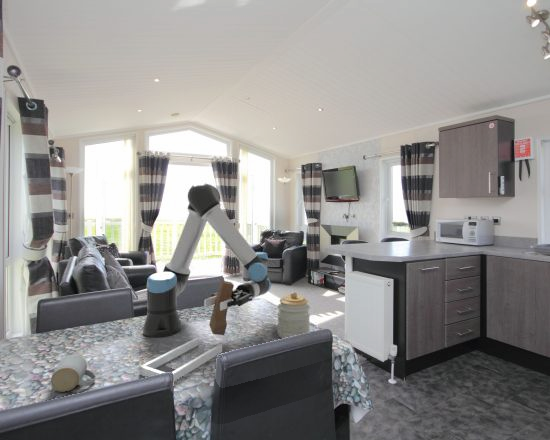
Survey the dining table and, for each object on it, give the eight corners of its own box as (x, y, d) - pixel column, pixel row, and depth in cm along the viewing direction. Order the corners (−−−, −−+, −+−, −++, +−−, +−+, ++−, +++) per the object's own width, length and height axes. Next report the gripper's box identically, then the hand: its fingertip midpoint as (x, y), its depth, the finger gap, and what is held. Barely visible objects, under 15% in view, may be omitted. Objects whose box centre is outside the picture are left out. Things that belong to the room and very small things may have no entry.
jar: (300, 344, 123) (300, 298, 122) (271, 337, 130) (271, 293, 129) (315, 333, 134) (315, 290, 133) (287, 327, 141) (287, 286, 140)
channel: (139, 374, 101) (139, 366, 101) (195, 344, 123) (195, 338, 123) (168, 385, 95) (168, 376, 95) (222, 351, 117) (222, 344, 117)
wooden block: (224, 335, 120) (236, 288, 121) (212, 334, 119) (225, 286, 119) (220, 326, 129) (231, 282, 129) (208, 324, 127) (220, 280, 127)
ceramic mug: (49, 396, 89) (48, 368, 89) (58, 380, 97) (58, 355, 97) (92, 390, 93) (92, 363, 92) (98, 375, 100) (98, 351, 100)
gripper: (266, 303, 137) (234, 319, 116) (228, 296, 146) (192, 310, 126) (267, 285, 136) (234, 298, 116) (228, 280, 146) (192, 291, 125)
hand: (212, 305), depth 121 cm, fingers closed on wooden block, 7 cm apart
